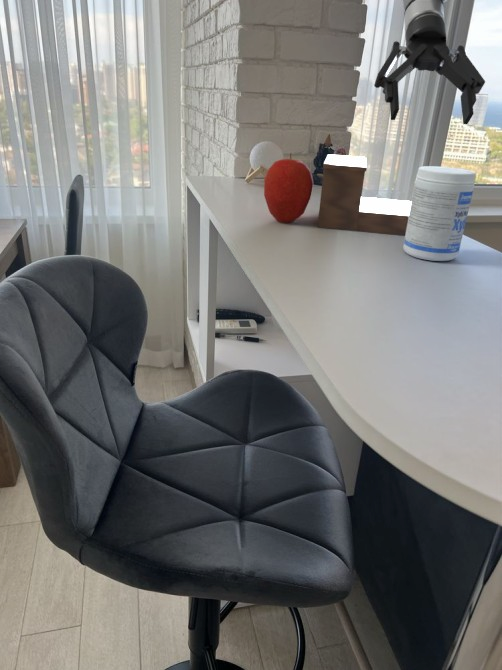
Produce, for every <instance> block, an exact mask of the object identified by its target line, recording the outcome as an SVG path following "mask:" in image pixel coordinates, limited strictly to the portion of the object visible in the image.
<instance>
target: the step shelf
mask: <svg viewBox="0 0 502 670" xmlns="http://www.w3.org/2000/svg"><path fill="white" fill-rule="evenodd" d="M367 166H368V165H367V157H365V156H352V155H341V154H327V155H326V158H325V160H324V161H323V164H322V169H323V172H322V180H321V182H322V183H321V191H320V199H319V210H318V218H317V228H321V229H331V230H343V231H352V232H363V233H371V234H372V233H373V234H383V235H393V236H403V237H405V234H406V229H407V224H408V218H409V213H410V207H411V202H412V200H411V201H410V200H400V199H390V198H377V197H368V196H367V197H365V196H363V188H364V183H365V182H364V181H365V175H366V172H367V170H368V169H367V168H368V167H367Z"/></svg>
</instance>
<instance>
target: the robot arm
mask: <svg viewBox="0 0 502 670" xmlns="http://www.w3.org/2000/svg"><path fill="white" fill-rule="evenodd" d="M447 1H448V0H402V3H403V15H404V34H405V35H404V38H405V46H403V45H400V42H399V41H397V40H396V41H393V44H392V46H391V49H390V53H389V55H388V57H387V59H386V60H385V62H384V63H383V64H382V66H381V68H380V70H379V71H378V73H377V75H376V78H375V82H374V84H373V85H374V87H375V88H376V89H379V88H382V93H383V94H384V102H385V103H387V104H388V103H389V109H390V110H389V111H390V120H391V121H395V120H396V118H397V116H398V113H399V111H400V100H399V99H400V98H399V83H400V81H401V80H403V78H405V77H406V76H407V75H408V74H411V72H413V71H414V70H415V69H417V71H420V72H421V71H429V72H436V73H437V74H438V75H439V76H444V77H445V78H446V79H447V80H448V81H449V82H450V83H451V84H452V85H453V86H454V87H455V88H457V89H458V90H459V91H460V92H461V95H460V103H461V104H460V105H461V114H462V115H461V117H462V124H463V125H468V124H469V122H470V121H471V119H472V117H473V116H474V115H475V114H474V113H475V111H474V105H475V104H476V103H477V95H478V94H480V92H481V91H482V89H483V87H484V85H485V83H486V80H485V79H484V77H483V76H482V74H481V73H480V72H479V70H478V69H477V68H476V66H475V65H474V64H473V62H472V61H471V59H470V58H469V57H468V56H467V54H466V50H465V47H464V45H461V44H460V45H458V46H457V48H456V49H455V48H453V49H451V48H449V46H448V45H447V29H446V18H445V8H444V4H445V3H446V2H447ZM402 56H404V58H405V59H406V60H405V61H404V62H403V63H401V64H400V65H399V66H398V67H397V68H396V69H395V70H393V72H392V73H390V71H391V70H392V68H393V67H394V65H395V64H396V61H398V60H399V59H400V58H401V57H402Z"/></svg>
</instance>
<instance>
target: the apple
mask: <svg viewBox="0 0 502 670" xmlns="http://www.w3.org/2000/svg"><path fill="white" fill-rule="evenodd" d="M263 181H264V182H263V185H264V186H263V188H264V189H263V197H264V199H265V202H266V205H267V208H268V212H269V214H271V216H272V217H273V219H274V220H276V221H277V222H278V223H284V224H288V223H292V222H295V221H296V220H298V219H299V218H300V217H302V216H303V215H304V213H305V212H306V209H307V207H308V205H309V202H310V200H311V198H312V193H313V188H314V184H315V183H314V178H313V175H312V171H311V169H310V168H309V166H308V165H307V164H306V163H305V162H303V161H301V160H299V159H294V158H292V152H289V158H282V159H279V160H276V161H274V162H273V163H272V164H271V165H270V167H269V168H268V169H267V172H266V175H265V178H264V179H263Z"/></svg>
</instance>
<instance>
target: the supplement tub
mask: <svg viewBox="0 0 502 670" xmlns="http://www.w3.org/2000/svg"><path fill="white" fill-rule="evenodd" d="M415 177H416V178H415V181H414V187H413V191H412V197H411V201H412V202H411V207H410V213H409V218H408V224H407V229H406V234H405V236H404V241H403V246H402V247H403V251H404V253H406V254H407V255H409V256H410V257H413V258H417V259H421V260H426V261H434V262H447V261H453V260H455V259H456V258H457V257H458V256H459V253H460V249H461V243H462V240H463V237H464V232H465V228H466V223H467V219H468V214H469V211H470V206H471V201H472V197H473V193H474V189H475V183H476V177H477V173H476V171H473V170H470V169H465V168H458V167H449V166H436V165H431V166H430V165H425V166H419V167H418V169H417V173H416V175H415Z"/></svg>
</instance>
